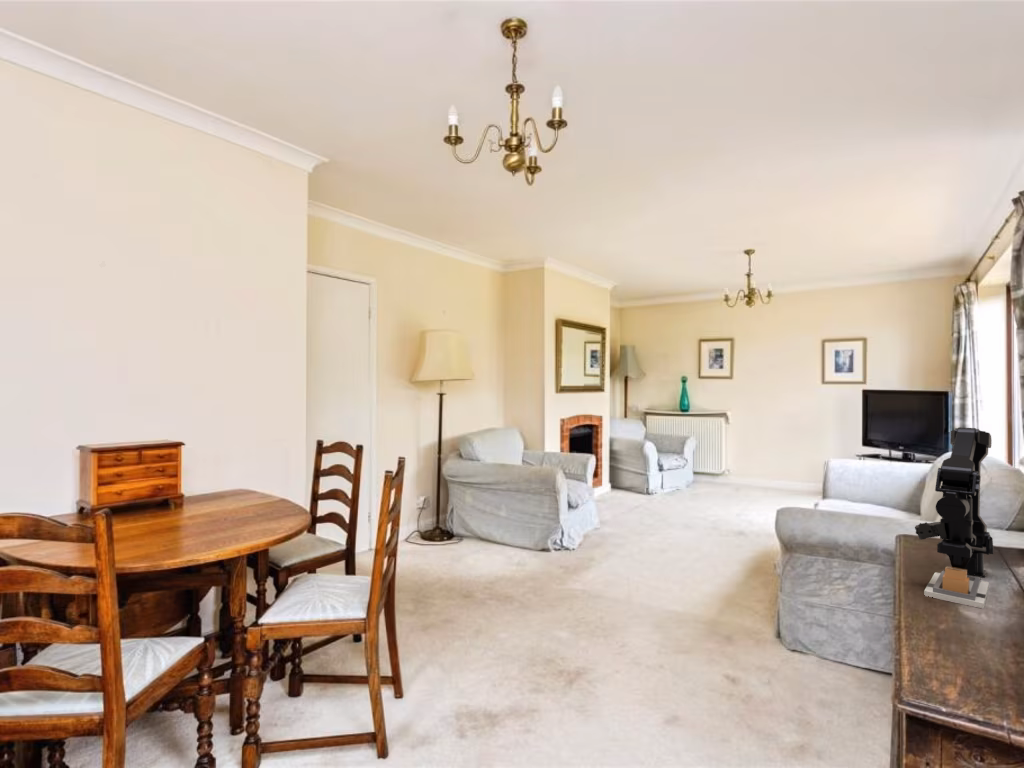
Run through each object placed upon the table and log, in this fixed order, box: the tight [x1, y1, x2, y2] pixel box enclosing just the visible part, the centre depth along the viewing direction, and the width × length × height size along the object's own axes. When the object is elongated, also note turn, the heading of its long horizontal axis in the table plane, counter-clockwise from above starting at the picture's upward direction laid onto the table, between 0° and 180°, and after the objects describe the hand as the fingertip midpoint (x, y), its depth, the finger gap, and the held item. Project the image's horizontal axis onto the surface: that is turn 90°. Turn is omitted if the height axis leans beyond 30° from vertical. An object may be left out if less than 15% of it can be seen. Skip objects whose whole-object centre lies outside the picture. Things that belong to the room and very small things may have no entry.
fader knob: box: [943, 565, 969, 594], centre depth 133 cm, size 4×5×5 cm
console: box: [923, 570, 990, 609], centre depth 136 cm, size 20×11×2 cm, turn 136°
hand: (957, 577), depth 136 cm, fingers closed
